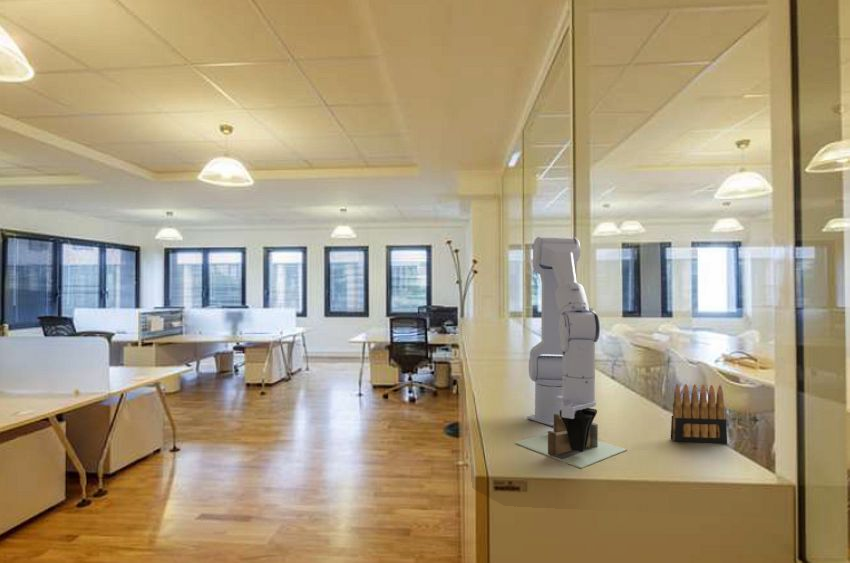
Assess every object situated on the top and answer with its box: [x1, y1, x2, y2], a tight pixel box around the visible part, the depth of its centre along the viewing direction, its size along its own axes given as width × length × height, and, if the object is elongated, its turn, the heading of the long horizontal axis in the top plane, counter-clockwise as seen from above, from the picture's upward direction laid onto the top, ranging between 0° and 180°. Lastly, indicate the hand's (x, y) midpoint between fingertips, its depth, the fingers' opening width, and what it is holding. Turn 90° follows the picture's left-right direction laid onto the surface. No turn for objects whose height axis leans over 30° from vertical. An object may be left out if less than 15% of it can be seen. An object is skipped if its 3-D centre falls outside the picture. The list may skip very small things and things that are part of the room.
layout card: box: [514, 430, 628, 469], centre depth 85 cm, size 16×15×1 cm
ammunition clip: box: [670, 383, 728, 445], centre depth 90 cm, size 11×2×12 cm, turn 88°
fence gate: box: [547, 430, 590, 455], centre depth 82 cm, size 11×1×4 cm, turn 120°
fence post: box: [553, 414, 599, 448], centre depth 89 cm, size 2×10×4 cm, turn 37°
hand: (578, 449), depth 80 cm, fingers closed
